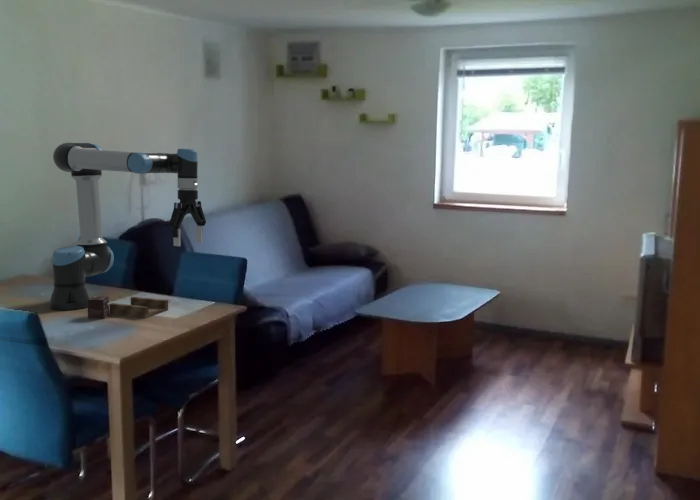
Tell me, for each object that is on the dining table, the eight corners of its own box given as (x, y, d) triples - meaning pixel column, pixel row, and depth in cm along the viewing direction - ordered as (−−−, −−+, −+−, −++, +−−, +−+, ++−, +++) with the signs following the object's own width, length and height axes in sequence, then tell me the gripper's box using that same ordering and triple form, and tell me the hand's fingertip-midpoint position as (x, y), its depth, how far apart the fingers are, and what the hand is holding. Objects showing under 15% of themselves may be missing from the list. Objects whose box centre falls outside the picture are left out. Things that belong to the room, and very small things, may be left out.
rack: (109, 314, 262) (109, 304, 261) (133, 306, 276) (133, 296, 275) (145, 318, 256) (145, 307, 256) (168, 310, 271) (168, 300, 270)
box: (103, 319, 254) (103, 299, 253) (87, 318, 254) (86, 299, 253) (109, 315, 260) (109, 296, 259) (93, 315, 260) (93, 296, 259)
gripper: (174, 191, 251) (175, 248, 254) (214, 188, 273) (214, 241, 276) (158, 190, 254) (159, 246, 257) (199, 187, 276) (199, 239, 279)
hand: (188, 244), depth 266 cm, fingers open, 13 cm apart
